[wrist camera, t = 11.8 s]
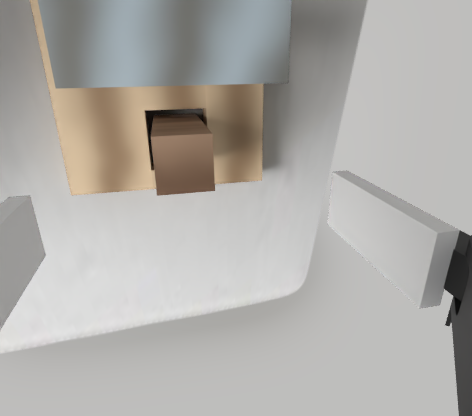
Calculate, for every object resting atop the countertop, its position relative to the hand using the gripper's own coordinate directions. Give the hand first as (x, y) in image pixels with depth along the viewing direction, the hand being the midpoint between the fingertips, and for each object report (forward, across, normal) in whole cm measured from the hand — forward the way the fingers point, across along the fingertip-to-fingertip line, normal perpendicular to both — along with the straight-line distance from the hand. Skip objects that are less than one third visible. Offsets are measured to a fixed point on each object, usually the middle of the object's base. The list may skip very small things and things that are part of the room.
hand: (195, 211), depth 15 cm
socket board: (+20, -1, +3) cm, 21 cm away
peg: (+20, 0, 0) cm, 20 cm away
